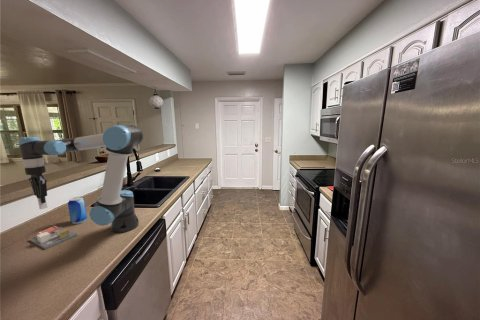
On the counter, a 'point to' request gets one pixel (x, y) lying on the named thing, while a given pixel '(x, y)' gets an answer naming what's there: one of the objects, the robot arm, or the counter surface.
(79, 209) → the beer can
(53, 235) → the panel
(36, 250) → the counter surface
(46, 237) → the ivory slider
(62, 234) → the brass slider
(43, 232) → the block
